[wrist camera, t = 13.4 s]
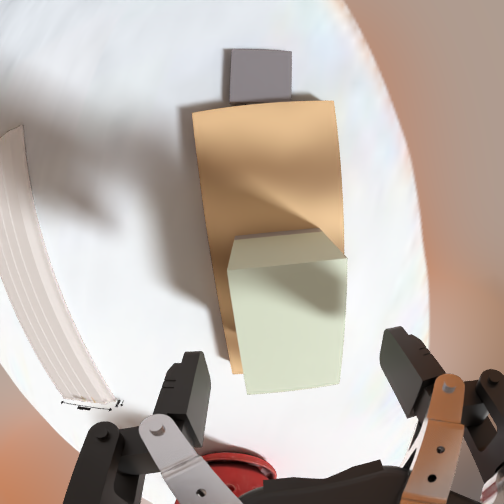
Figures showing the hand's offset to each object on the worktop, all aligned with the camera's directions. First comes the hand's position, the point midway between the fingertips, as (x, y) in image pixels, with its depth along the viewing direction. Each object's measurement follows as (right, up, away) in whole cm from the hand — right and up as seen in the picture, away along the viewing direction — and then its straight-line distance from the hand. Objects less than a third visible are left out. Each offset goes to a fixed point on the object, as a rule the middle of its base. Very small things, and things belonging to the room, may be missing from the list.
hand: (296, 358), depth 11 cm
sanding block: (0, +2, +8) cm, 8 cm away
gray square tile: (-1, +16, +6) cm, 17 cm away
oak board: (0, +5, +9) cm, 10 cm away
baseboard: (-23, +1, +11) cm, 26 cm away
